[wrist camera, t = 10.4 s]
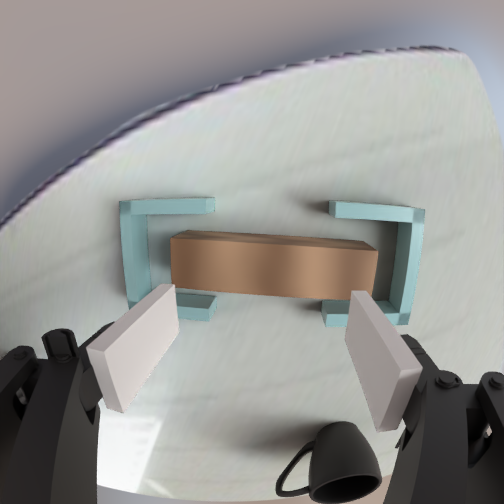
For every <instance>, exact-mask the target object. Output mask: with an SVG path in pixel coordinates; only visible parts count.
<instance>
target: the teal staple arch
mask: <svg viewBox="0 0 504 504" xmlns="http://www.w3.org/2000/svg"><path fill="white" fill-rule="evenodd" d="M119 206H120V229H121V244H122V256H123V266H124V275H125V284H126V292H127V299H128V306H129V310H130V309H131V308H132V307H134V306H135V305H136V304H137V303H138V302H139V301H141V300H142V299H143V298H144V297H145V296H147V295H148V294H149V293H150V292H152V289H151V279H150V268H149V255H148V239H147V216H146V214H208V213H211V212H214V211H215V198H164V199H138V200H127V201H119ZM175 294H176V304H177V314H178V318H179V319H189V320H199V321H210V319H211V317H212V315H213V314H214V312H215V310H216V308H217V304H216V296H206V295H192V294H179V293H175Z"/></svg>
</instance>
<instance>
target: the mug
mask: <svg viewBox="0 0 504 504" xmlns="http://www.w3.org/2000/svg"><path fill="white" fill-rule="evenodd" d="M312 451H313V452H312ZM309 452H312V456H311V461H310V467H309V486H306V487H304V488H301V489H298V490H293V491H282V487H283V484H284V481H285V480H286V478H287V476H288V475H289V473H290V472H291V471H292V469H293V468H294V467H295V465H296V464H297V463H298V462H299V461H300V459H301V458H302V457H303V456H305V455H306V454H307V453H309ZM381 482H382V476H381V472H380V468H379V464H378V461H377V458H376V456H375V453H374V451H373V450H372V448H371V446H370V444H369V443H368V441H367V440H366V438H365V437H364V436H363V434H362V433H361V432H360V431H359V429H358V428H357V426H356V425H355V424H353V423H350V422H337V423H333V424H330V425H328V426H326V427H324V428H323V429H322V430H321V431H320V432H319V433H318V435H317V439H316V440H314V441H311V442H309V443H307V444H306V445H305V446H303V447H302V449H301V450H300V451H299V452H298V453H297V454H296V456H295V457H294V458H293V459H292V461H291V462H290V463H289V465H288V466H287V467H286V468H285V470H284V471H283V472H282V474H281V475H280V476H279V478H278V480H277V482H276V494H277V495H278V496H280V497H294V496H299V495H303V494H307V493H309V496H310V498H311V499H312V500H313V501H315V502H318V503H322V504H339V503H345V502H350V501H353V500H357V499H360V498H362V497H364V496H366V495H368V494H370V493H372V492H373V491H375V490H376V489H377V488H378V487H379V486H380V484H381Z"/></svg>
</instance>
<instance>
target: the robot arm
mask: <svg viewBox="0 0 504 504" xmlns="http://www.w3.org/2000/svg"><path fill="white" fill-rule="evenodd" d="M178 333H179V324H178V314H177V304H176V294H175V284H160V285H159V286H158V287H156V288H155V289H154V290H153V291H152V292H150V293H149V294H148V295H147V296H145V297H144V298H143V299H142V300H141V301H139V302H138V303H137V304H136V305H135V306H134V307H132V308H131V309H130V310H129V311H128V312H126V313H125V314H124V315H123V316H122V317H121V318H119V319H118V320H117V321H116V322H112V323H109V324H107V325H105V326H103V327H102V328H101V329H100V330H98V331H97V333H95V334H94V335H92V337H90V338H89V339H88V340H87V341H85V342H84V343H83V344H82V345H81V346H79V347H78V346H77V342H76V339H75V335H74V333H73V332H72V330H69V329H63V328H61V329H55V330H51V331H49V332H47V333H45V334H44V335H43V336H42V337H41V338H42V341H43V344H44V347H45V350H46V353H47V356H48V359H38V358H37V357H36V354H35V351H34V349H33V348H32V347H29V346H18V347H17V348H14V349H13V350H11V351H10V352H9V353H8V354H7V355H6V356H5V357H3V358H2V359H1V360H0V504H97V448H98V432H99V420H100V408H99V405H98V402H99V401H100V399H101V398H102V397H103V399H104V402H105V404H106V407H107V408H108V409H111V410H114V411H118V412H121V413H124V412H125V411H126V409H127V408H128V406H129V405H130V404H131V402H132V401H133V399H134V398H135V396H136V395H137V393H138V392H139V390H140V389H141V387H142V386H143V384H144V383H145V381H146V380H147V378H148V377H149V376H150V374H151V373H152V371H153V370H154V368H155V367H156V365H157V364H158V362H159V361H160V360H161V358H162V357H163V355H164V354H165V352H166V351H167V349H168V348H169V346H170V345H171V344H172V342H173V341H174V339H175V338H176V336H177V335H178ZM345 342H346V345H347V347H348V350H349V353H350V355H351V358H352V361H353V363H354V366H355V369H356V372H357V374H358V377H359V380H360V383H361V386H362V389H363V391H364V394H365V397H366V400H367V403H368V406H369V409H370V412H371V415H372V418H373V421H374V424H375V428H376V431H377V432H384V431H390V430H396V429H397V428H398V426H399V424H400V422H401V420H402V418H403V420H404V422H405V425H406V428H405V430H404V432H403V433H402V435H401V437H400V439H399V441H398V443H397V445H396V447H395V448H398V447H399V451H398V455H397V459H396V463H395V467H394V470H393V474H392V477H391V481H390V484H389V487H388V491H387V494H386V497H385V500H384V502H383V504H504V375H503V374H502V373H498V372H487V373H485V374H484V375H483V376H482V378H481V380H480V382H479V384H463V383H462V380H461V379H460V378H459V377H458V376H457V375H456V374H454V373H452V372H449V371H445V370H439V369H438V367H437V366H436V365H435V363H434V362H433V361H432V359H431V358H430V357H429V356H428V354H426V352H425V350H424V349H423V348H422V346H421V345H420V344H419V343H418V341H417V340H416V339H414V338H412V337H411V336H409V335H408V334H406V335H399V333H398V332H397V330H396V329H395V328H394V326H393V325H392V324H391V322H390V321H389V320H388V318H387V317H386V316H385V314H384V313H383V312H382V310H381V309H380V308H379V307H378V305H377V304H376V303H375V301H374V300H373V299H372V297H371V296H370V295H369V294H368V292H367V291H352V292H351V300H350V307H349V314H348V321H347V328H346V334H345ZM489 426H490V428H491V430H492V433H491V434H490V436H488V434H487V432H486V431H487V429H488V428H489ZM399 445H400V446H399Z"/></svg>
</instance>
